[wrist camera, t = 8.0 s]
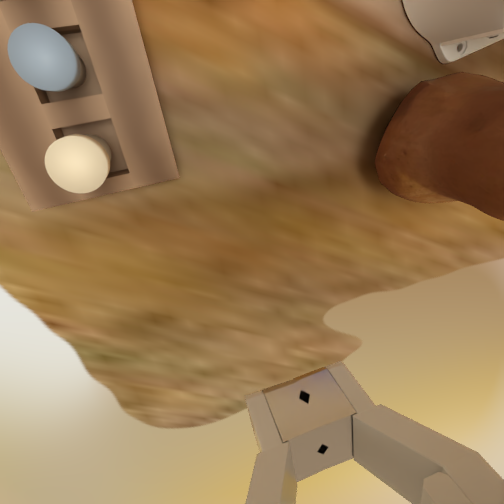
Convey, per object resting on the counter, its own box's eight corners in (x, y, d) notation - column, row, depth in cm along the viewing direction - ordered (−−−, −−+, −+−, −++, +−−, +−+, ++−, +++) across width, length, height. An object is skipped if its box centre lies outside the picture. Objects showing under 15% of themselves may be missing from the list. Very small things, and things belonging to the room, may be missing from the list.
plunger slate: (80, 37, 27) (60, 19, 21) (98, 89, 29) (84, 85, 23) (30, 44, 27) (-5, 27, 21) (52, 97, 29) (25, 95, 22)
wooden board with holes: (103, -100, 26) (96, -131, 22) (176, 170, 36) (179, 177, 32) (-94, -86, 23) (-137, -119, 20) (44, 200, 33) (32, 211, 30)
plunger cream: (106, 125, 28) (94, 131, 22) (122, 169, 30) (115, 186, 24) (59, 134, 28) (33, 143, 22) (78, 179, 30) (59, 199, 23)
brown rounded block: (422, 191, 47) (660, 269, 25) (342, 186, 43) (544, 272, 21) (457, 86, 41) (801, 66, 19) (370, 67, 37) (681, 17, 15)
